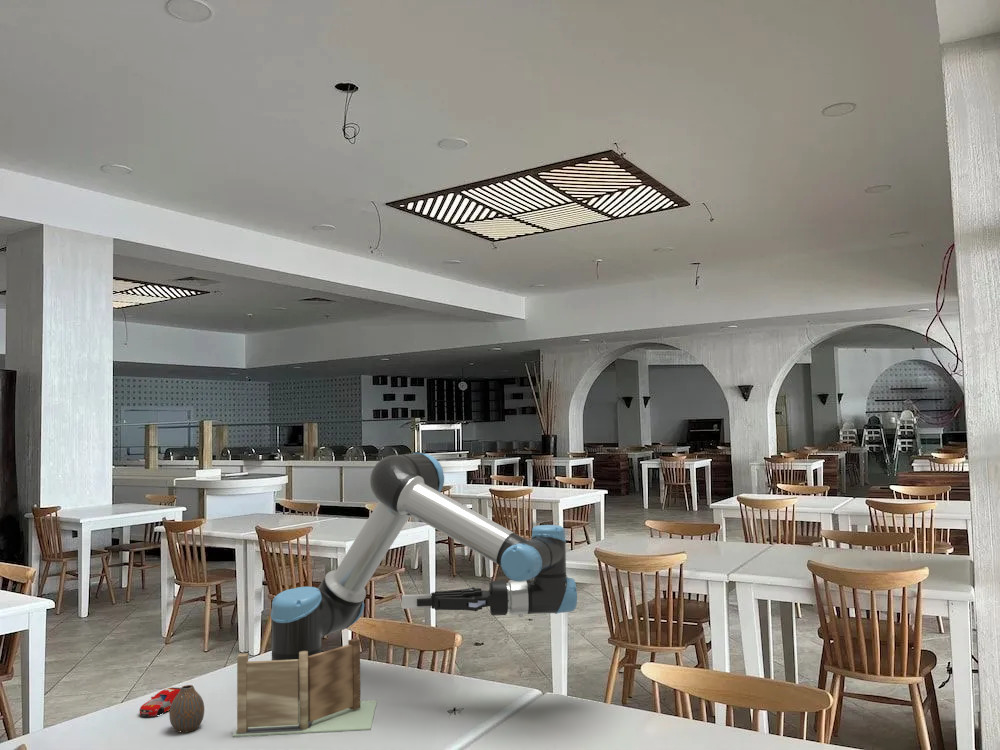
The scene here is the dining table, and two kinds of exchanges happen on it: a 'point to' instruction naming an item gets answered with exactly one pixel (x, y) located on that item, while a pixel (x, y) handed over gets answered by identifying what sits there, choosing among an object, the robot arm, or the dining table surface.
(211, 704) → the dining table surface
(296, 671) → the birch fence section
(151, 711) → the race car
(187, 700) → the vase
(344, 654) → the walnut panel
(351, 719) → the card
